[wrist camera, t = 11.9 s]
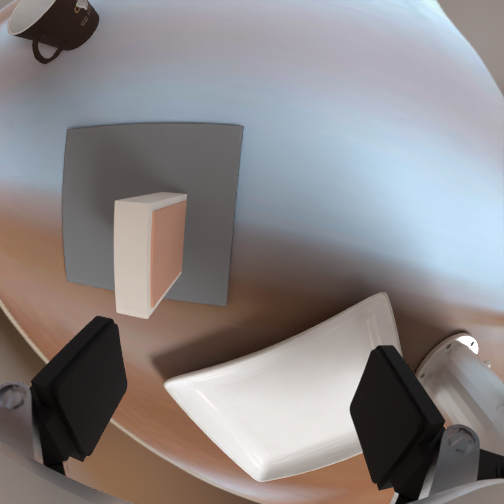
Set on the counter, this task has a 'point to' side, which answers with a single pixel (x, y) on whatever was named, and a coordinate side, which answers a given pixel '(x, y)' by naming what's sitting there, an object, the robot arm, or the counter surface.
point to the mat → (148, 182)
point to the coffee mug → (53, 24)
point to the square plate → (290, 394)
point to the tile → (147, 250)
